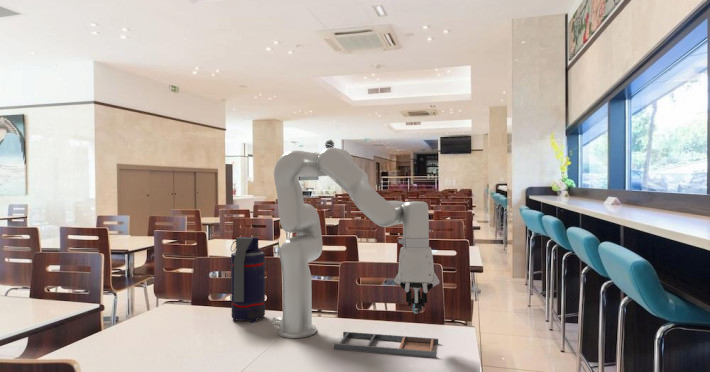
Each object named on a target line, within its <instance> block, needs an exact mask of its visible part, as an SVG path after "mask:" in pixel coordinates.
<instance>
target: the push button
mask: <svg viewBox="0 0 710 372" xmlns="http://www.w3.org/2000/svg"><path fill="white" fill-rule="evenodd" d="M410 289H412V290H413V295H412V304H411V311H412V313H414V314H420V313H421V312H423V311H424V310H423V309H424V307H423V306H422V294H421V291H420V290H421V289H422V290H423V285H422V283H410Z"/></svg>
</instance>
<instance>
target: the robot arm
mask: <svg viewBox="0 0 710 372" xmlns="http://www.w3.org/2000/svg"><path fill="white" fill-rule="evenodd" d="M299 177H300V178H301V177H304V178H306V177H308V178H315V177H316V178H318V177H329V178H330V179H331V180H332V181H334V182H335V183H336V184H337V185H338V186H339V187H340V188H341V189H343V190H344V191H345V192H346V193H347V194H348V195H349V196H348V197H349V198H350V199H351V201H352V202H353V203H354V205H355V206H356V208H357V209H358V210H359V211H360V212H362V214H363V215H365V216H366V217H367V218H368V219H369V220H370V221H371V222H373V223H374V224H375V225H377V226H379V227H382V228H389V227H392V226H396V225H402V238H398V239H397V240H398V244H401V245H402V247H400V249H399V255H398V273H397V274H396V276H395V277H394V279H393V282H394V283H395V284H396V285H399V286H400V287H401V288H402V289H403V290H404V292H405V293H406V294H405V301H406V303H407V304H408V306H409V307H412V305H413V303H412V298H413V294H412V293H413V291H412V290H411V289H412V288H411V287H410V283H422V285H423V288H422V292H421V299H422V307H423V308H424V307H425V305H426V304H428V292H429V291H431V290H432V288H434V287H436V286H438V285H439V284H440V280H439V278H438V276H437V274H436V273H435V268H434V266H435V265H434V255H433V250H432V247H431V246H430V235H429V234H430V233H429V229H430V228H429V227H430V225H429V224H430V223H429V220H430V219H429V205H428V203H427V202H425V201H401V200H386V199H385V198H384V197H383V196H382V195H380V194H379V192H377V191H376V190H375V189H374V188H373V187H372V185H371V184H370V182H369V176H368V173H367V172H365V170H363V169H362V168H360V167H359V166H358V165H357V164H356V163H355V162H354V159H353V157H352V155H351V153H350V152H349V151H347V150H345V149H343V148H342V149H341V148H337V147H328V148H324V149H323V150H322V151H319V152H310V151H304V150H290V151H287V152H285V153H284V154H282V155H281V156H280V157H279V158H278V160H277V161H276V163H275V165H274V170H273V178H274V179H273V180H274V185H275V188H276V189H275V190H276V196H277V197H276V201H277V205H278V206H277V209H278V216H279V217H278V218H279V223H280V226H281V228H282V229H283V231H284V232H287V233H288V234H289V233H293V234H294V233H296V236H292V237H290V238H287V239H286V240H285V241H283V243H282V244H281V246H280V249H279V260H280V265H281V272H282V273H281V275H282V277H281V278H282V317H272V319H271V323H272V326H279V328H278V331H277V334H278V335H279V336H281V337H283V338H288V339H302V338H306V337H311V336H313V335H314V334H316V333H317V328H318V327H317V326H316V325H315V324H313V323H312V322H313V319H312V318H313V316H312V315H313V314H312V313H313V312H312V311H313V310H312V308H313V307H312V302H313V300H312V273H311V269H310V266H309V263H311V262H314V261H315V260H317V259H319V258H320V256H322V252H323V237H322V236H323V235H322V227H321V221H320V215H319V213H318V210H317V209H316V208H315V207H314V206H313V205H312V204H310V203H305V201H304V194H303V188H302V186H301V183H300V182H299Z"/></svg>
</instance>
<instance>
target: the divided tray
mask: <svg viewBox="0 0 710 372" xmlns="http://www.w3.org/2000/svg"><path fill="white" fill-rule="evenodd" d="M342 333H343V334H342V339H341V340H340V341H339V343H336V342H335V343H333V350H343V351H353V352H354V351H355V352H365V353H375V354H376V353H377V354H389V355H400V356H411V357H412V356H413V357H423V358H434V359H435V358H437V351H434V350H433V349H434V345H439V338H432V337H421V336H420V337H419V336H407V335H405V336H404V335H396V334H395V335H394V334H393V335H392V334H381V333H379V334H378V333H368V332H367V333H366V332H365V333H364V332H356V331H355V332H353V331H352V332H351V331H343V332H342ZM349 338H352V339H354V338H355V339H364V340H365V339H366V340H367V339H368V340H369V342H368V343H367V344H366V345H361V344H351V343H350V344H346V342H348V340H349ZM376 340H379V341H391V342H400V345H399V347H398V348H397V347H387V346H386V347H383V346H374V343H375V342H376Z"/></svg>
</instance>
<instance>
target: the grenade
mask: <svg viewBox="0 0 710 372" xmlns="http://www.w3.org/2000/svg"><path fill="white" fill-rule="evenodd" d="M234 244H235V247H234V249H233V245H234ZM232 249H233V250H232ZM230 251H231V255H230V263H231V265H230V266H231V268H230V273H231V274H230V278H231V280H230V281H231V283H230V284H231V287H230V288H231V290H230V292H231V297H230V299H231V300H230V301H231V318H232V321H234V322H237V321H249V323H251V324H253V323H256V322H257V320H260V319H261V318H263V317H265V315H266V286H265V285H266V283H265V282H266V280H265V279H266V277H265V275H266V273H265V269H266V268H265V261H266V260H265V259H266V258H265V255H266V254H265V251H261V249H260V248H259V237H257V236H254V237H252V236H239V237H236V238H235V240H234V241H232V243H231V245H230ZM234 251H235V252H234Z"/></svg>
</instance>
